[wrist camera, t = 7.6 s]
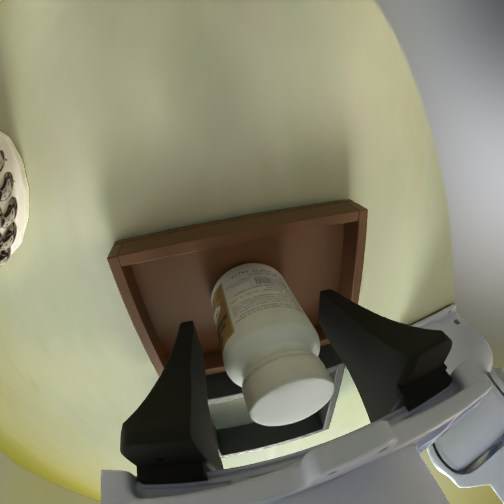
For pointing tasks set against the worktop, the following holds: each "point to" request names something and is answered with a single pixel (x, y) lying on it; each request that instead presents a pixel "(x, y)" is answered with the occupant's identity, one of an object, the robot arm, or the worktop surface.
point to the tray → (228, 257)
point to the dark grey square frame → (269, 436)
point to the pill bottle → (269, 346)
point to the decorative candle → (12, 198)
